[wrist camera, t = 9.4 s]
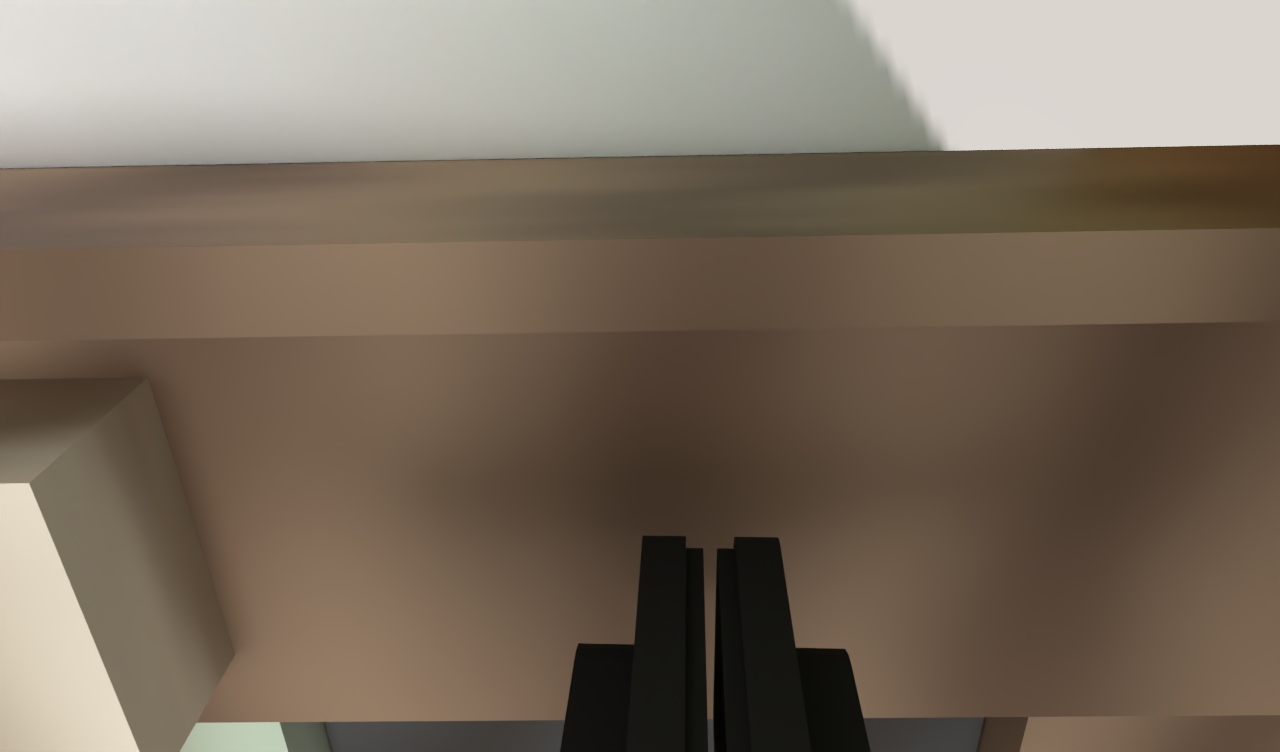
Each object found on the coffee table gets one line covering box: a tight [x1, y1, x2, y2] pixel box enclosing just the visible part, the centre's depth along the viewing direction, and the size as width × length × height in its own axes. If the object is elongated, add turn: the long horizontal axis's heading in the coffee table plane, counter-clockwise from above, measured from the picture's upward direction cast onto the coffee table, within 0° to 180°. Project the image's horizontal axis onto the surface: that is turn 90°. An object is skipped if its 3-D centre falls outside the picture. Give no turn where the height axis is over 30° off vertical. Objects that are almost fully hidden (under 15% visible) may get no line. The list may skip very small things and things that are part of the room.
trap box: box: [0, 145, 1280, 752], centre depth 14 cm, size 29×16×4 cm, turn 91°
